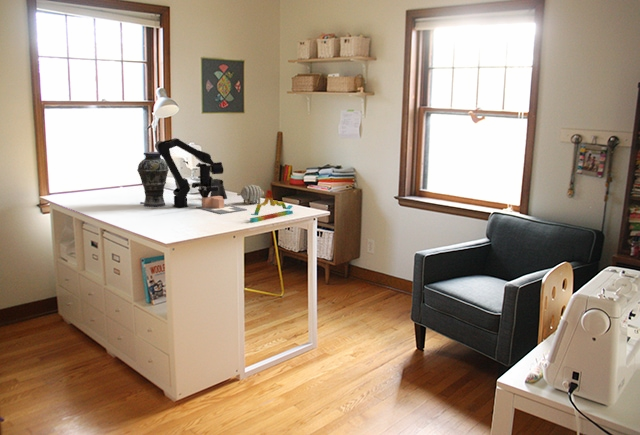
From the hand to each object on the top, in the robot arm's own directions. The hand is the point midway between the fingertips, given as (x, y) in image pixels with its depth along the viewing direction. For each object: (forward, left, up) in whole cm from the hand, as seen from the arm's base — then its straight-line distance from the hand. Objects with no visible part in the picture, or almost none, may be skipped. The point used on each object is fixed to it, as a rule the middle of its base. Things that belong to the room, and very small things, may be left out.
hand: (205, 201), depth 346 cm
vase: (-23, +17, -2) cm, 29 cm away
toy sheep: (+24, -12, -2) cm, 27 cm away
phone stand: (+18, +12, -2) cm, 22 cm away
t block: (0, -11, -2) cm, 11 cm away
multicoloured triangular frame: (+7, -51, -3) cm, 51 cm away
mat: (0, -16, -2) cm, 16 cm away
